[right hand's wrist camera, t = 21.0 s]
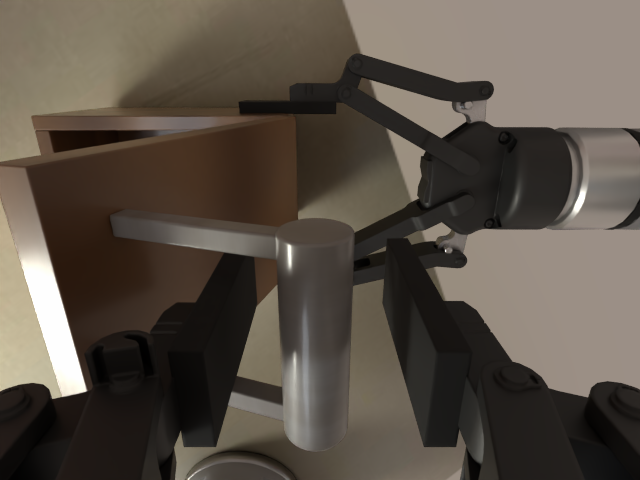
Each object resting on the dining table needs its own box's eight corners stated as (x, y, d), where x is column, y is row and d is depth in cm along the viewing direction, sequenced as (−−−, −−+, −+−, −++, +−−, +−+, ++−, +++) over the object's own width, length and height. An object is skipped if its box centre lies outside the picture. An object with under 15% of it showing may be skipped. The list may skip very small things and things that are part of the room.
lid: (79, 456, 13) (323, 546, 10) (-12, 163, 9) (325, 192, 7) (283, 258, 27) (403, 276, 25) (277, 116, 24) (417, 119, 21)
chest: (128, 214, 37) (67, 257, 27) (107, 107, 33) (30, 115, 24) (296, 213, 37) (291, 255, 28) (293, 107, 33) (287, 115, 24)
